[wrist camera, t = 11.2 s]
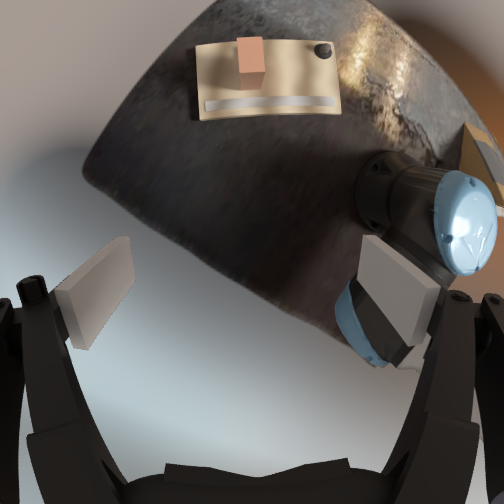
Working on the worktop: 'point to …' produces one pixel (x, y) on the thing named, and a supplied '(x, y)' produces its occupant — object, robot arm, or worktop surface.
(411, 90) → the worktop surface
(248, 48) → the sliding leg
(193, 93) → the worktop surface
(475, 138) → the sandwich container
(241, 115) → the board
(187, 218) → the worktop surface
